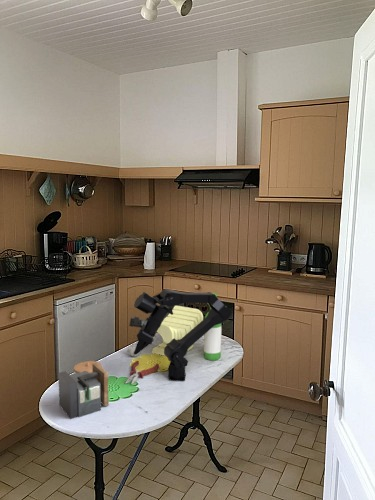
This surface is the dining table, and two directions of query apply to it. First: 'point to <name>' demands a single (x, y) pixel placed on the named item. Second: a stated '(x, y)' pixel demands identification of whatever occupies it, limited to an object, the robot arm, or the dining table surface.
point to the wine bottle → (212, 342)
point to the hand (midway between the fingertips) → (134, 353)
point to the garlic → (132, 351)
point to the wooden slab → (102, 378)
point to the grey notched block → (78, 395)
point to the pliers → (140, 374)
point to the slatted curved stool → (178, 326)
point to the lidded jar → (85, 366)
